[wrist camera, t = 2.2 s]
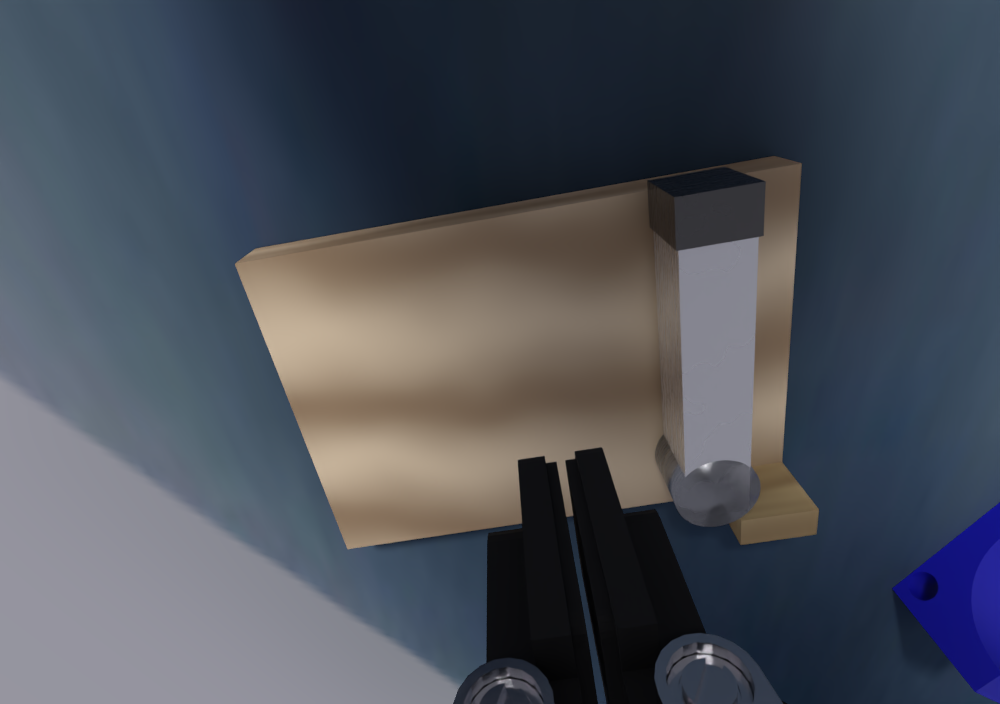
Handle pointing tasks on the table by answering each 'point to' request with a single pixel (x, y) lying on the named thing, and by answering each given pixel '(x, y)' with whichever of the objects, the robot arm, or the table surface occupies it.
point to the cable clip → (963, 602)
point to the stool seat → (505, 357)
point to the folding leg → (707, 338)
